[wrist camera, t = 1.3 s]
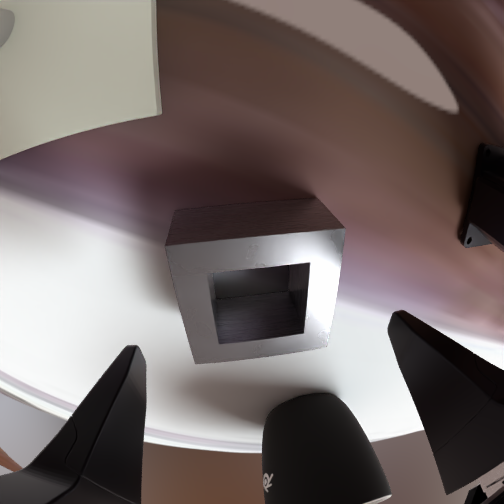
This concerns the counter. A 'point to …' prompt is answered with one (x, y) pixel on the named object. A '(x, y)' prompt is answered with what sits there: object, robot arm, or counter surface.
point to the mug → (319, 455)
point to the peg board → (74, 68)
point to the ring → (249, 257)
